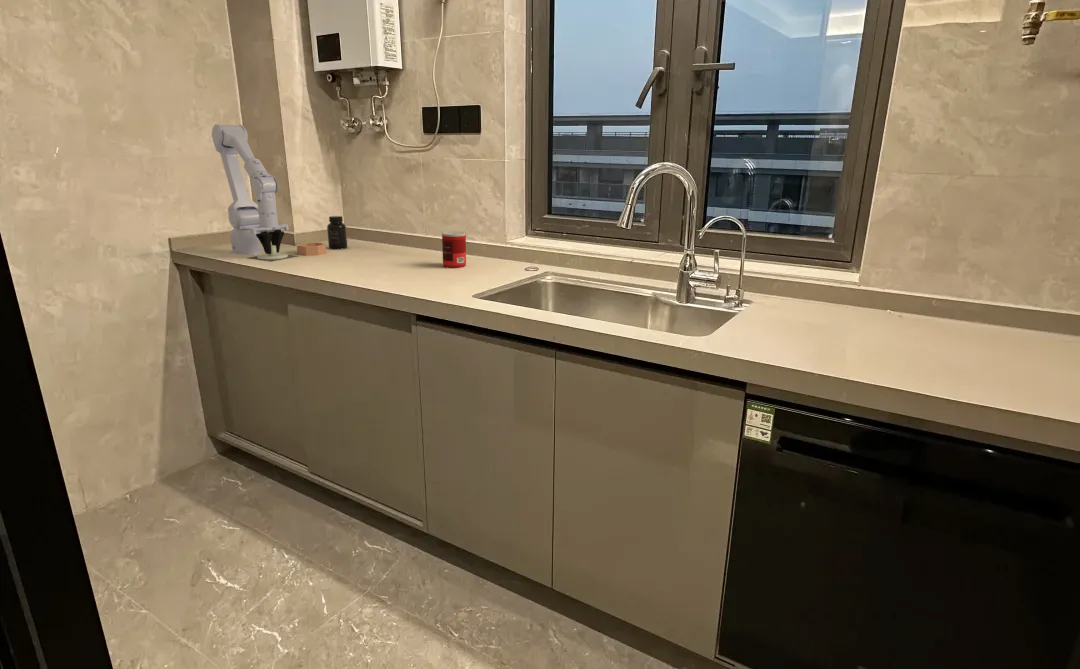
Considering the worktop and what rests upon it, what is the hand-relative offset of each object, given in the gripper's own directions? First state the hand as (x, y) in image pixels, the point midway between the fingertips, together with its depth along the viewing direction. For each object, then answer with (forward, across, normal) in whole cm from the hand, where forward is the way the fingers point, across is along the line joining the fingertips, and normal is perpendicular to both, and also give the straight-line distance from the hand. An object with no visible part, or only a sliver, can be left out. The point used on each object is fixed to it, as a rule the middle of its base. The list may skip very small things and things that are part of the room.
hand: (272, 253), depth 214 cm
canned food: (+2, +21, -61) cm, 65 cm away
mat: (+2, 0, 0) cm, 2 cm away
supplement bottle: (+2, +28, -3) cm, 28 cm away
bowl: (+2, +13, -5) cm, 14 cm away
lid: (+1, 0, 0) cm, 1 cm away
